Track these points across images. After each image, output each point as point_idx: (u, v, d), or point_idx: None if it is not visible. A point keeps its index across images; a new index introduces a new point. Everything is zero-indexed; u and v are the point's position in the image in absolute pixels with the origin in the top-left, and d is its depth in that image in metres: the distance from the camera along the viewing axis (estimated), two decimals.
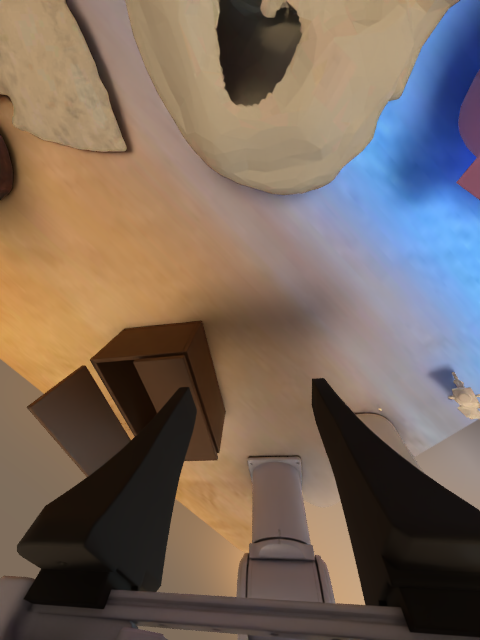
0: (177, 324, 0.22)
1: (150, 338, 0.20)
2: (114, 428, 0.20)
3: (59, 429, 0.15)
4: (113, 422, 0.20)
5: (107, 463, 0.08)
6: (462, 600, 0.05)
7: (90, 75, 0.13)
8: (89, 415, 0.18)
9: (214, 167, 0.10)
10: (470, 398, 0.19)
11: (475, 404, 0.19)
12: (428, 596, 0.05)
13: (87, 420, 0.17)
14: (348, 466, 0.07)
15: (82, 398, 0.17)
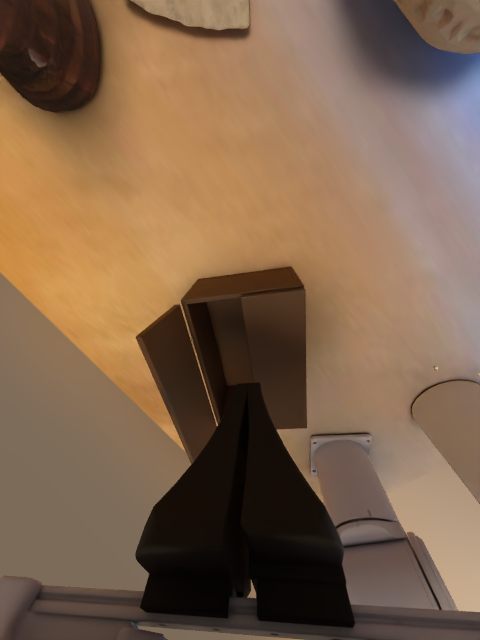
0: (263, 271, 0.19)
1: (241, 281, 0.17)
2: (199, 386, 0.17)
3: (162, 372, 0.13)
4: (198, 379, 0.17)
5: (197, 461, 0.07)
6: (306, 591, 0.05)
7: None
8: (183, 364, 0.15)
9: None
10: None
11: None
12: (278, 588, 0.05)
13: (182, 369, 0.15)
14: None
15: (177, 341, 0.14)
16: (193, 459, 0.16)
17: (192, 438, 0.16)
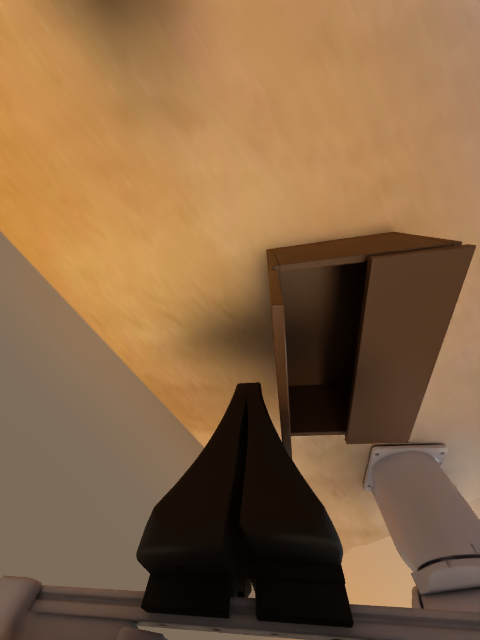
0: (357, 237, 0.14)
1: (340, 246, 0.13)
2: None
3: None
4: None
5: (198, 461, 0.07)
6: (305, 591, 0.05)
7: None
8: None
9: None
10: None
11: None
12: (277, 587, 0.05)
13: None
14: None
15: None
16: None
17: None
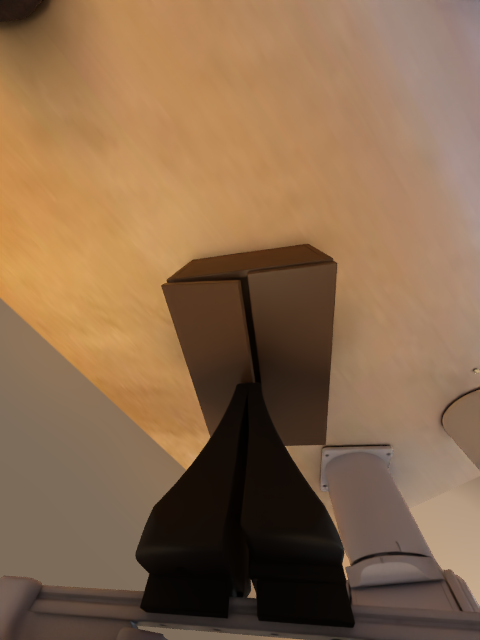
0: (273, 249, 0.15)
1: (246, 259, 0.13)
2: None
3: None
4: None
5: (197, 461, 0.07)
6: (306, 591, 0.05)
7: None
8: None
9: None
10: None
11: None
12: (278, 588, 0.05)
13: None
14: None
15: None
16: None
17: None
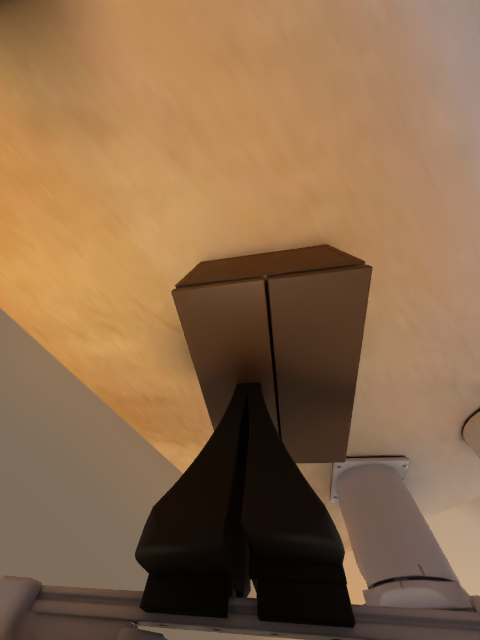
0: (289, 250, 0.14)
1: (261, 261, 0.12)
2: None
3: None
4: None
5: (197, 461, 0.07)
6: (307, 591, 0.05)
7: None
8: None
9: None
10: None
11: None
12: (278, 588, 0.05)
13: None
14: None
15: None
16: None
17: None
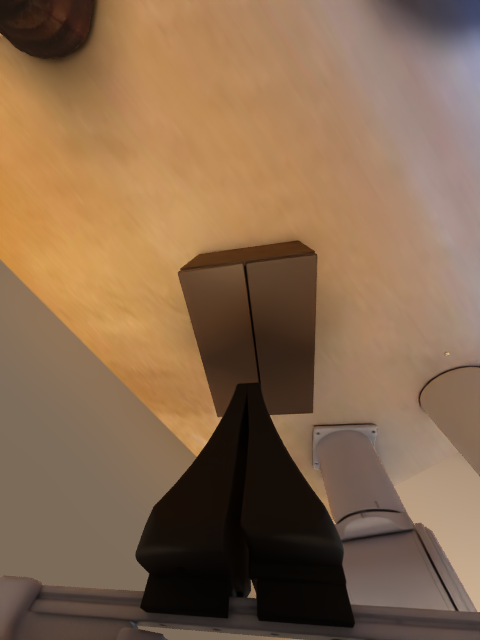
0: (268, 245, 0.18)
1: (245, 252, 0.16)
2: None
3: None
4: None
5: (197, 461, 0.07)
6: (306, 591, 0.05)
7: None
8: None
9: None
10: None
11: None
12: (278, 588, 0.05)
13: None
14: None
15: None
16: None
17: None
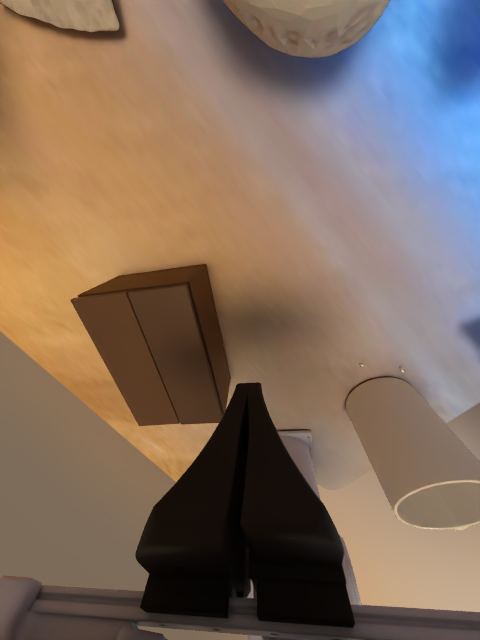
0: (178, 268, 0.19)
1: (147, 278, 0.17)
2: None
3: None
4: None
5: (197, 461, 0.07)
6: (306, 591, 0.05)
7: None
8: None
9: None
10: None
11: None
12: (278, 588, 0.05)
13: None
14: None
15: None
16: None
17: None
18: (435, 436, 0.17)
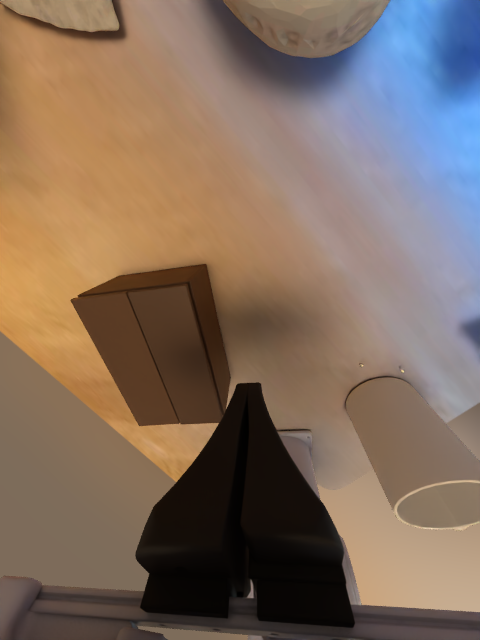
0: (178, 268, 0.19)
1: (147, 278, 0.17)
2: None
3: None
4: None
5: (197, 461, 0.07)
6: (306, 591, 0.05)
7: None
8: None
9: None
10: None
11: None
12: (278, 588, 0.05)
13: None
14: None
15: None
16: None
17: None
18: (435, 436, 0.17)
